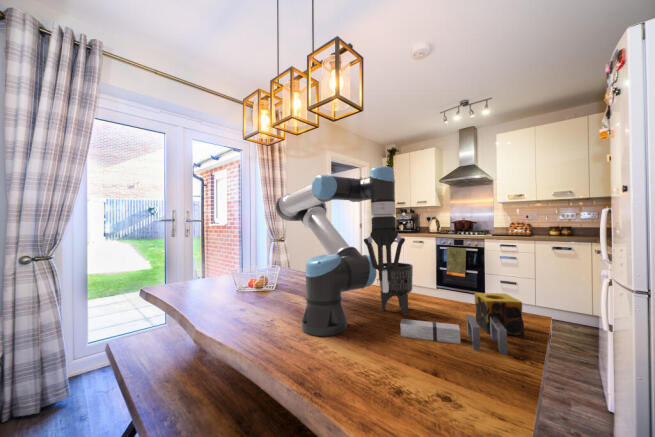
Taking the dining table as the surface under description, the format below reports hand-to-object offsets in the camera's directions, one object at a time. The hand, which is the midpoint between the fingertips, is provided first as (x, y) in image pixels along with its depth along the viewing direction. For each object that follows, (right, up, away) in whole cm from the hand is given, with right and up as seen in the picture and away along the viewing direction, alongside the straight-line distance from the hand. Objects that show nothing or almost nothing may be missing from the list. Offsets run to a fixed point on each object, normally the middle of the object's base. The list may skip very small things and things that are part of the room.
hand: (385, 291), depth 81 cm
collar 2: (+28, -12, -11) cm, 32 cm away
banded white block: (+12, -12, -5) cm, 18 cm away
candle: (+36, -12, +1) cm, 38 cm away
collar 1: (+23, -12, -9) cm, 27 cm away
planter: (+9, -13, +20) cm, 26 cm away
